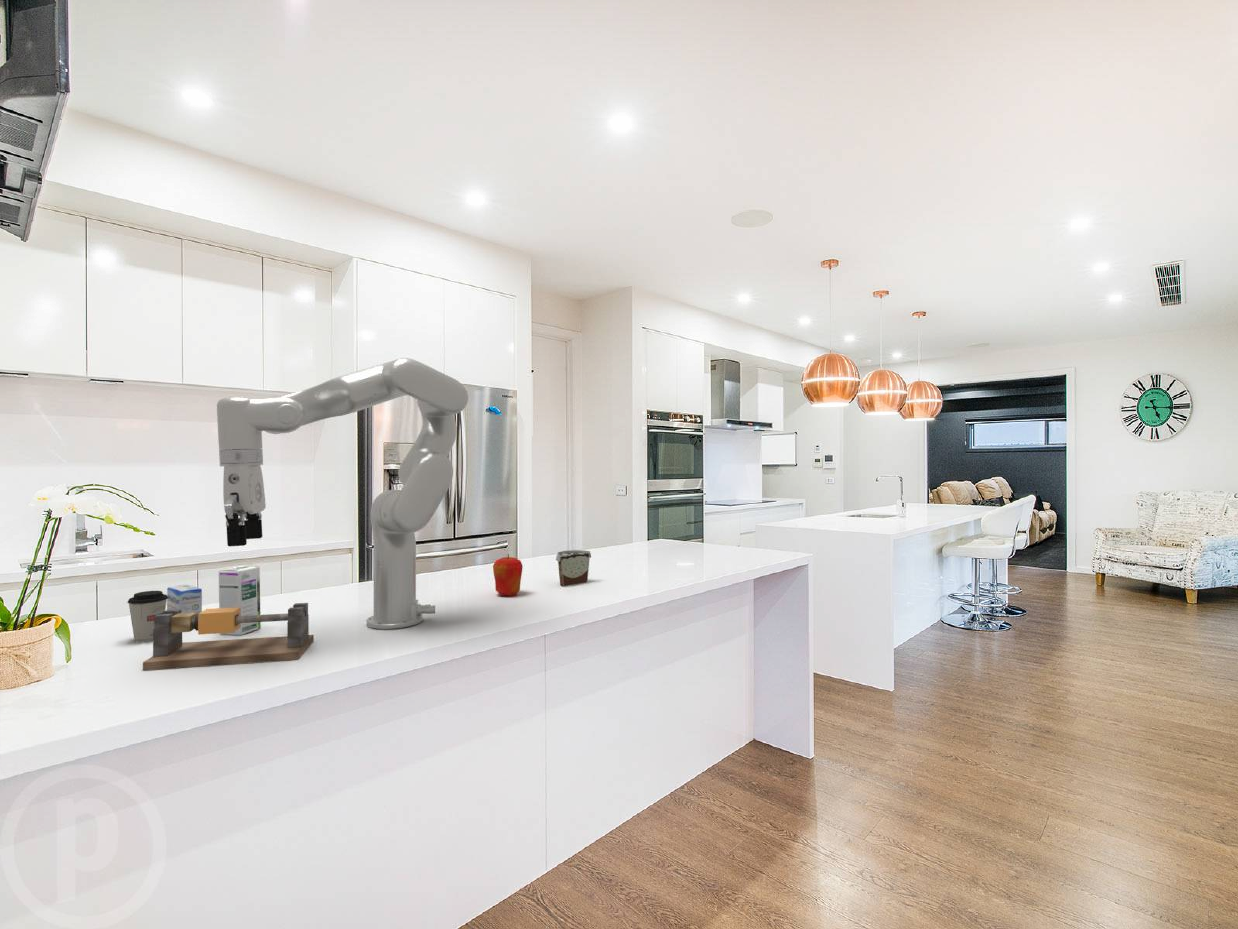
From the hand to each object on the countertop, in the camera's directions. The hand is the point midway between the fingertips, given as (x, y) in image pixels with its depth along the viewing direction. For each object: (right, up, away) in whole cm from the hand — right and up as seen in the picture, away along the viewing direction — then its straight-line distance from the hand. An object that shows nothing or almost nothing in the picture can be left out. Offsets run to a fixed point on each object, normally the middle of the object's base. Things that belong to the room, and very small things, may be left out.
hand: (245, 542), depth 123 cm
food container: (+61, -22, +67) cm, 93 cm away
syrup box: (-9, -22, +13) cm, 27 cm away
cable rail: (0, -22, -4) cm, 22 cm away
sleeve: (-2, -17, -4) cm, 18 cm away
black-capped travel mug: (-25, -22, +7) cm, 34 cm away
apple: (+44, -22, +50) cm, 71 cm away
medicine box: (-26, -22, +19) cm, 39 cm away
